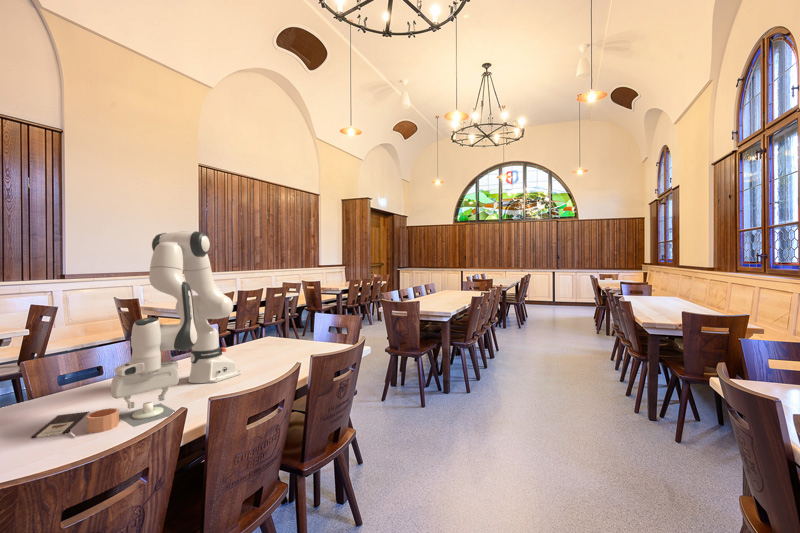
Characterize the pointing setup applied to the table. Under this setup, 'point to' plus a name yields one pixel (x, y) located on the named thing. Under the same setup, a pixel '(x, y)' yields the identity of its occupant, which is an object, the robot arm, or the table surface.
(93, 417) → the cup
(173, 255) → the robot arm
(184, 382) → the table surface
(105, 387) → the table surface
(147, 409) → the lid
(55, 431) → the chocolate bar
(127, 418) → the mat
